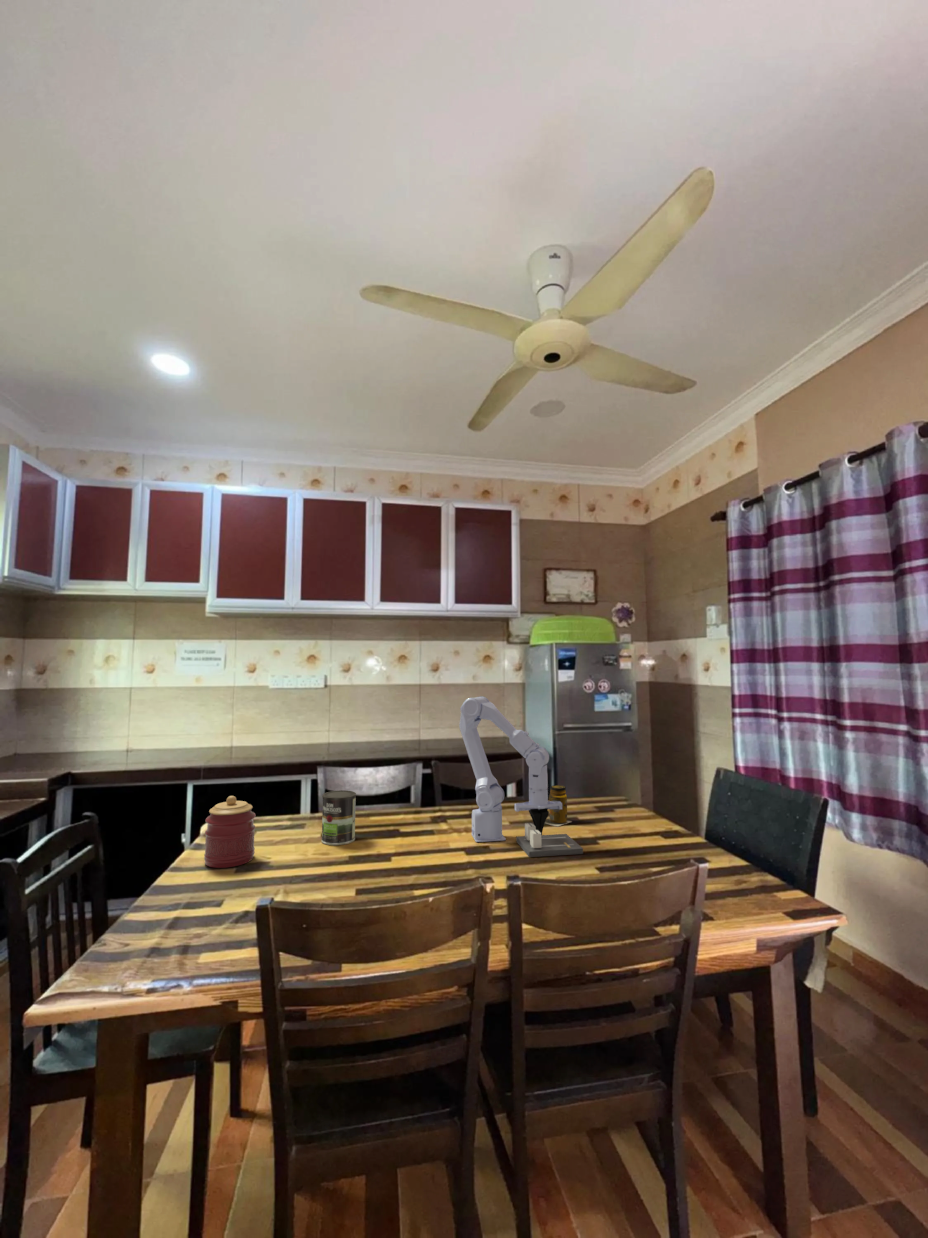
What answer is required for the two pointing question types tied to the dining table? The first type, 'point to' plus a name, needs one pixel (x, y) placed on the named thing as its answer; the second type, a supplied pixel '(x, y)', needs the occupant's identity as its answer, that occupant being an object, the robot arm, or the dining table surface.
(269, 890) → the dining table surface
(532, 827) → the fader far
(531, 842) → the fader near
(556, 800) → the condiment
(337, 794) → the coffee can
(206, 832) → the canister
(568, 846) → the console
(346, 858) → the dining table surface
